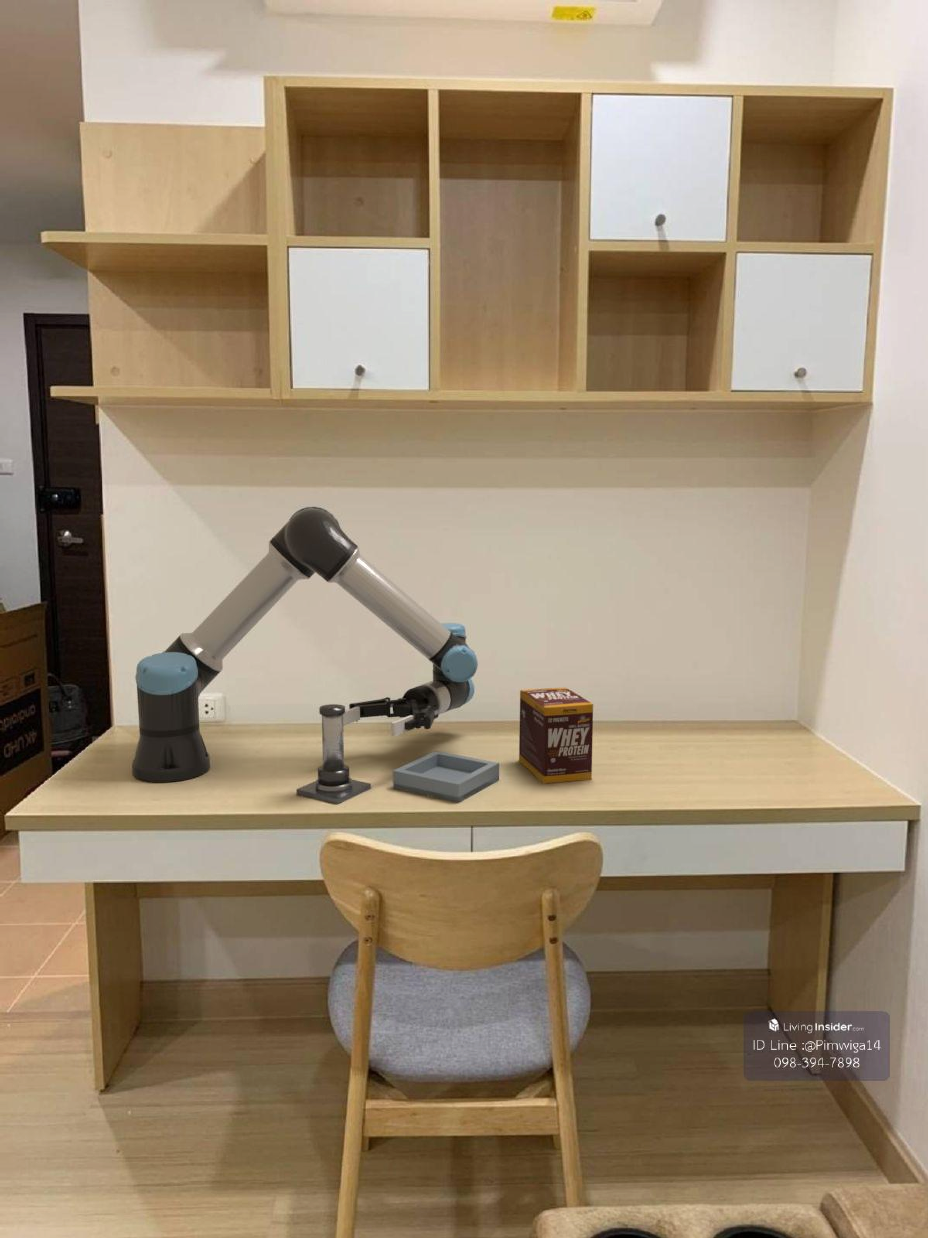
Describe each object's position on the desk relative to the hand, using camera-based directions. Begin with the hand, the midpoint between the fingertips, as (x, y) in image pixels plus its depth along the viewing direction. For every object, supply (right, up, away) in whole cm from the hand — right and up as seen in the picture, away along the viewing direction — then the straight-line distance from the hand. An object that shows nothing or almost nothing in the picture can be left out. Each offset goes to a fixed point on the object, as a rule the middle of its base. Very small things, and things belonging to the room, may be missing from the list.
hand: (365, 725), depth 184 cm
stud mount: (-5, -12, -6) cm, 15 cm away
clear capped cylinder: (-5, -10, -7) cm, 13 cm away
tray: (+16, -11, -2) cm, 20 cm away
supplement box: (+38, -10, +7) cm, 40 cm away
